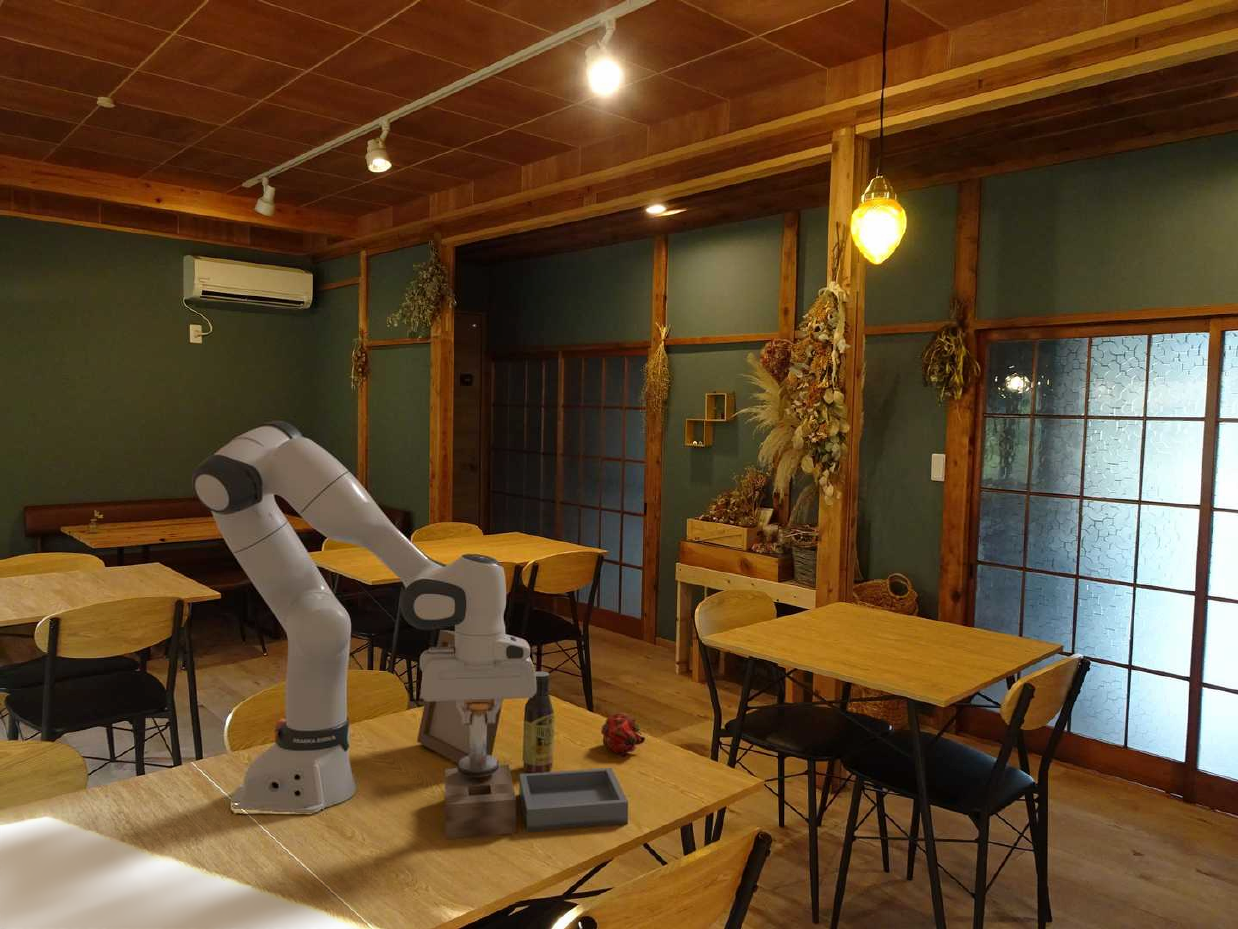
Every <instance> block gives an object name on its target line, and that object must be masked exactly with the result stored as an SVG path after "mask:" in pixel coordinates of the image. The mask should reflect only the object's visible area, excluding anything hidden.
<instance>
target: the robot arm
mask: <svg viewBox="0 0 1238 929" xmlns="http://www.w3.org/2000/svg"><path fill="white" fill-rule="evenodd" d="M191 485H192V489H193V492H194V495H195V496H196V499H198V501H199V502H200V504H202V505H203V506H204V507H205V508H207V509H208V510H209V511H210V512H211V514H212V517H213V519H214V521H215V524H216V526H217V528H218V531H220V532H219V533H220V534H221V536H222V537H223V540H224V542H225V544H226V545H227V546H228V548H229V550H230V551H231V554H233V556H234V557H235V558H236V560H237V562H238V563H239V565H240V567H241V569H243V571H244V573H245V574H246V575H247V577H248V579H249V580H250V582H251V583H252V584H253V586H254V587H255V589H256V590H257V592H258V593H259V594H260V596H261V598H263V600H264V602H265V603H266V605H267V606H268V607H269V609H270V610H271V612H272V613H273V614H274V616H275V618H276V619H277V620H278V621H279V623H280V625H281V626H282V628H283V630H284V631H285V633H286V636H287V637H286V638H287V646H288V647H287V666H286V667H287V668H286V676H285V718H279V719H278V720H277V722H276V724H275V727H274V728H275V730H274V742H275V743H274V744H272V745H271V746H269V748H268V749H266V750H265V751H264V752H262V753H261V754H260V755H258V756H257V757H256V758H254V760H253V761H252V762H251V763H249V764H250V765H249V766H248V768H247V769H246V772H245V775H244V779H243V782H242V784H241V785H239V787H238V786H237V788H236V789H235V790H234V792H233V793H232V795H231V797H230V800H231V801H230V802H229V804H230V803H240V804H238V805H232V807H233V808H234V809H243V810H246V809H247V810H252V809H253V810H260V811H268V812H269V811H273V812H295V813H306V814H307V813H315V812H317V811H319V810H321V809H323V810H324V808H325V807H327V806H329V805H332V806H334V805H333V804H335V805H338V804H340V803H342V802H345V801H347V800H348V799H350V798H352V797H353V796H354V795H355V793H356V792H357V785H356V782H355V780H354V775H353V772H352V771H353V770H352V766H351V760H350V753H349V752H350V751H349V749H350V748H349V747H350V745H351V725H350V718H349V717H348V714H347V713H348V709H347V708H348V704H347V703H348V701H347V700H348V698H347V695H348V694H347V692H348V691H347V687H348V686H347V684H348V683H347V678H348V670H349V669H348V668H349V662H350V661H349V660H350V659H349V658H350V650H351V633H352V622H351V617H350V614H349V613H348V611H347V610H346V607H344V606H343V604H342V603H341V602H340V601H339V599H338V598H337V597H336V596H335V594H334V593H333V591H332V589H331V587H329V585H328V583H327V582H326V580H325V578H324V576H323V575H322V574H321V572H320V570H319V568H318V567H317V565H316V563H315V562H314V560H313V558H312V557H311V555H310V553H309V552H308V550H307V549H306V547H305V546H304V544H303V542H302V541H301V539H300V537H299V536H298V534H297V532H295V530H294V528H293V527H292V525H291V524H290V522H289V521H288V519H287V517H286V516H285V515H284V513H283V511H282V510H281V509H280V508H279V505H278V504H277V501H276V499H275V495H277V496H280V497H281V498H283V499H284V500H285V501H286V502H287V503H288V504H289V505H290V506H291V508H292V509H294V510H295V511H296V513H298V515H299V516H300V517H301V518H302V519H303V520H304V521H305V522H306V523H307V524H309V525H310V526H311V527H312V528H313V529H314V530H316V531H317V532H319V533H320V534H322V536H324V537H325V538H327V539H329V540H331V541H334V542H339V543H346V544H351V545H355V546H358V547H361V548H363V549H365V550H367V551H369V552H370V553H371V554H372V555H374V556H375V557H376V558H377V560H379V561H380V562H381V563H383V565H384V566H386V567H387V568H388V569H389V570H390V572H392V573H393V574H394V575H395V576H396V577H398V579H399V580H400V581H401V582H402V583H403V585H404V587H405V588H404V590H403V592H402V593H401V597H400V600H399V602H400V603H399V604H400V607H399V608H400V611H401V612H400V613H401V614H402V617H403V618H404V620H405V621H406V623H408V624H409V625H410V626H412V627H413V628H415V629H418V630H422V631H430V630H431V631H432V630H438V629H439V630H441V629H445V628H450V627H453V626H454V631H455V646H454V647H442V648H436V647H437V646H432V647H428V649H426V650H424V651H423V652H422V653H420V656H419V670H420V671H421V672H422V680H421V690H420V696H421V698H422V700H424V702H425V701H426V702H430V701H456V707H457V709H458V710H459V712H460V714H461V715H462V725H467V724H470V712H465V710H464V708H463V707H462V706H464V700H487V699H493V701H494V707H493V709H492V710H491V711H487V724H493V723H495V714H497V712H498V710H499V709H500V707H501V705H503V702H502V699H503V700H507V699H508V700H510V699H511V700H512V699H514V700H515V699H529V698H532V697H533V696H534V695H535V694H536V675H535V672H536V671H535V666H534V663H533V661H532V659H531V657H530V655H531V647H530V644H529V643H528V641H527V640H525V639H523V638H520V637H517V636H514V635H510V634H507V633H506V625H505V620H504V614H505V610H506V607H507V606H506V605H507V586H506V585H507V584H506V575H505V574H506V573H505V570H504V567H503V565H502V563H501V562H500V561H498V559H496V558H493V557H491V556H488V555H484V554H478V553H465V554H462V555H461V556H460V557H459V558H458V559H456V560H454V561H452V562H451V563H449V564H445V563H443V562H441V561H438V560H435V559H433V558H431V557H430V556H428V555H427V554H426V553H424V552H423V551H422V550H421V549H420V548H418V546H416V544H414V543H413V542H412V540H410V539H409V538H408V537H407V536H406V535H405V534H404V533H403V532H401V530H400V529H398V527H396V525H395V524H393V522H391V520H390V519H389V518H388V516H386V514H385V513H384V512H383V510H382V509H381V508H380V507H379V505H378V504H377V503H376V501H375V500H374V498H373V497H372V496H371V495H370V493H368V491H367V489H365V487H364V486H363V485H362V484H361V483H360V481H359V480H358V479H357V478H356V477H355V476H354V474H353V473H351V471H349V470H348V468H346V467H345V466H344V465H343V464H342V463H341V462H340V461H339V460H338V459H337V458H335V456H333V455H332V454H331V453H329V452H328V451H327V450H326V449H325V448H323V447H322V446H320V445H319V444H318V443H316V442H314V441H313V440H312V439H310V438H307V437H304V436H303V435H302V433H301V432H300V431H299V430H298V428H296V427H295V426H294V425H293V424H291V423H289V422H287V421H283V420H273V421H269V422H264V423H261V424H258V425H257V426H256V427H255V428H253V429H252V430H249V431H247V432H244V433H242V434H241V435H239V436H236V437H235V438H233V439H231V441H229V442H228V443H227V444H225V445H224V446H223V447H221V448H220V449H218V451H216V452H215V453H214V454H211V455H209V456H207V457H206V458H204V460H202V461H201V462H200V464H198V466H197V467H196V468H195V470H194V471H193V472H192V476H191ZM454 653H455V655H454ZM501 708H502V707H501ZM337 803H338V804H337ZM249 807H250V808H249ZM329 807H330V806H329ZM327 808H328V807H327ZM325 809H326V808H325ZM315 814H316V813H315Z"/></svg>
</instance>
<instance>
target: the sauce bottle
mask: <svg viewBox="0 0 1238 929" xmlns="http://www.w3.org/2000/svg"><path fill="white" fill-rule="evenodd" d="M535 675H536V694H535V695H534V696H533V697H532V698H527V699H528V700H527V701H526V703H525V706H524V718H523V736H522V737H523V740H522V741H523V743H522V744H523V745H522V746H523V747H522V761H523V766H522V767H523V770H524V771H526V772H527V773H542V772H550V770H552V768H553V763H554V743H555V740H554V739H555V738H554V736H555V712H554V708H553V704H552V701H551V698H550V681H551V680H550V679H551V675H550V673H549V672H547V671H535Z"/></svg>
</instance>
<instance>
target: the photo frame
mask: <svg viewBox="0 0 1238 929" xmlns="http://www.w3.org/2000/svg"><path fill="white" fill-rule="evenodd" d="M436 643H437V644H436V646H435V647H436V648H442V647H454V646H455V630H453V631H452V630H445V629H439V633H438V638H437V642H436ZM454 655H455V653H454ZM490 700H491V709H489V710H487V711H491V710H492V709H493V707H494V701H493V699H490ZM466 701H467V700H464V706H462V707H463V708H464V710H465V712H470V710H467V709H466ZM503 702H504V699H502V703H503ZM502 705H503V704H502ZM502 705H501V707H500V709H499V710H498V712H497V714H495V723H493V724H487V747H486V755H491V756H493V751H494V746H495V741H496V737H497V732H498V727H499V726H498V725H499V721H500V716H501V711H502V707H503V706H502ZM416 742H417V743H419V744H421V745H423V746H425V747H427V748H428V749H430V750H432V751H434V752H436V753H438V754H440V755H442V756H443V757H446V758H447V759H449V760H451V761H452V762H455V763H456V764H458V762H459V761H460V760H461V759H462V758H464V757H466V756H469V745H470V724H467V725H462V715H461V714H460V712H459V710H458V709H457V707H456V701H430V702H426V701H425V700H424V705H423V709H422V715H421V719H420V725H419V730H418V734H417V739H416Z"/></svg>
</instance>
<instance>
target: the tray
mask: <svg viewBox="0 0 1238 929" xmlns="http://www.w3.org/2000/svg"><path fill="white" fill-rule="evenodd" d="M518 775H519V776H518V780H519V781H518V783H519V784H518V785H519V786H518V787H519V788H518V789H519V791H518V793H519V799H520V803H521V808H522V813H523V819H524V823H525V824H524V825H525V827H526V832H527V833H529V832H530V833H534V832H545V831H547V832H548V831H554V830H555V831H557V830H571V829H580V828H582V829H583V828H592V827H607V826H617V825H628V824H629V801H628V799H627V797H626V795H625V793H624V791H623V789H622V787H621V784H620V782H619V781H618V778H617V777H616V774H615V772H614V770H613V768H612V767H605V768H604V767H601V768H588V769H574V770H573V769H572V770H560V771H548V772H542V773H530V772H527V773H519V774H518Z"/></svg>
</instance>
